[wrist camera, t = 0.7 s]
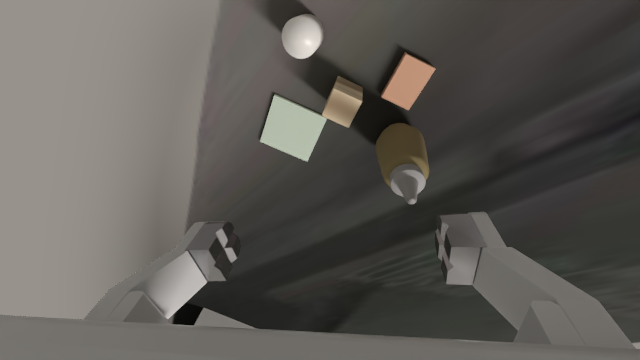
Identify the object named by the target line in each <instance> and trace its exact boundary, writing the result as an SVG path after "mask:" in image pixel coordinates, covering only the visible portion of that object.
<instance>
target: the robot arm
mask: <svg viewBox="0 0 640 360" xmlns="http://www.w3.org/2000/svg"><path fill="white" fill-rule="evenodd" d="M436 223H437V226H438V230H437V231H435V246H436V251H437V255H438V258H440V259H441V260H442V265H441V269H442V272H443V275H444V279H445V282H446V284H460V285H473V287H474V288H475V289H476V290H477V291H478V292H480V293H481V294H482V295H483V296H484V297H485V298H486V299H487V300H488V301H489V302H490V303H491V304H492V305H493V306H494V307H495V308H496V309H497V310H498V311H499V312H500V313H501V314H502V315H503V316H504V317H505V318H506V319H507V320H508V321H509V322H510V323H511V324H512V325H513V326H514V327H515V328H516V329H517V330H518V333H517V335H516V337H515V339H514V341H513V343H512V342H494V341H475V340H456V339H438V338H419V337H400V336H381V335H362V334H343V333H324V332H305V331H287V330H268V329H249V328H230V327H212V326H193V325H174V324H171V323H170V322H169V321H168V319H169V318H170V317H171V316H172V315H173V314H174V313H175V312H176V311H177V310H178V309H179V308H181V307H182V306H183V305H184V304H185V303H186V302H187V301H188V300H189V299H190V298H191V297H192V296H193V295H194V294H195V293H196V292H197V291H198V290H199V289H201V288H202V287H203V286H204V285H205V284H206V283H207V281H226V280H227V278H228V276H229V274H230V272H231V270H232V268H233V266H232V262H233V261H234V260H235V259H237V257H238V255H239V253H240V247H241V245H240V240H239V237H238V236H237V235H236V234H234V233H233V231H234V227H233V225H232V223H231V222H197V223H194V224H193V225H192V227H191V228H190V229H189V230H188V232H187V233H186V234H185V236H184V237H183V238H182V240H181V241H180V242H179V244H178V245H177V247H175V249H174V250H173V251H169V252H167V253H166V254H164V255H163V256H161V257H160V258H158V259H156V260H155V261H153V262H152V263H150V264H148V265H147V266H145V267H144V268H142V269H141V270H139V271H138V272H136V273H134V274H133V275H131V276H130V277H128V278H126V279H125V280H123V281H122V282H120V283H119V284H117V285H115V286H114V287H112V288H111V289H110V290H109V291H108V292H107V293H106V294H105V295H104V296H103V298H102V299H101V300H100V301H99V302H98V303H97V305H96V306H95V307H94V308H93V309H92V310H91V311H90V312H89V313H88V315H87V316H86V317H85V318H84V319H83V320H82V319H63V318H44V317H26V316H10V315H0V360H640V349H636V348H635V347H634V346H633V345H632V343H631V342H630V341H629V339H628V338H627V337H626V336H625V334H624V333H623V332H622V330H621V329H620V328H619V327H618V325H617V324H616V323H615V321H614V320H613V319H612V318H611V316H610V315H609V314H608V313H607V311H606V310H605V309H604V307H603V306H602V305H601V304H600V302H599V301H598V300H596V299H594V298H593V297H591V296H590V295H588V294H586V293H585V292H583V291H582V290H580V289H578V288H577V287H575V286H573V285H572V284H570V283H569V282H567V281H565V280H564V279H562V278H561V277H559V276H557V275H556V274H554V273H552V272H551V271H549V270H548V269H546V268H544V267H543V266H541V265H540V264H538V263H536V262H535V261H533V260H532V259H530V258H528V257H527V256H525V255H523V254H522V253H520V252H519V251H517V250H515V249H514V248H512V247H506V245H505V244H504V242H503V240H502V238H501V237H500V235H499V233H498V232H497V230H496V228H495V227H494V225H493V223H492V222H491V220H490V218H489V216H488V215H487V213H485V212H473V213H455V214H438V215H437V220H436Z"/></svg>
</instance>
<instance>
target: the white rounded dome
mask: <svg viewBox="0 0 640 360" xmlns="http://www.w3.org/2000/svg"><path fill="white" fill-rule="evenodd" d="M323 39H324V28H323V25H322V23H321V21H320V20H319V19H318V18H317V17H316V16H314V15H312V14H303V15H300V16H297V17H294V18H291V19H290V20H289V21H287V23H286V24H285V25H284V27H283V30H282V43H283V46H284V48H285V49H286V51H287V52H288V53H289V54H290V55H291V56H293V57H295V58H298V59H304V58H307V57H309V56H311V55H312V54H313V53H314V52H315V51H316V50H317V48H318V47H319V46H320V45H321V43H322V41H323Z"/></svg>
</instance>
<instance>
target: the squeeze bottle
mask: <svg viewBox="0 0 640 360" xmlns="http://www.w3.org/2000/svg"><path fill="white" fill-rule="evenodd" d="M375 150H376V154H377V157H378V161H379V164H380V168H381V171H382V175H383V178H384V181H385V183H386V184H387V185H389V186H390V187H391V188H392V190H393V191H394V192H395V193H396V194H398V195H400V196H404V198H405V199H406V201H407V203H408V204H414V203H416V201H417V194H418V193H419V192H421V191H422V190H423V188H424V187H425V183H426V179H427V178H428V174H429V166H428V160H427V153H426V147H425V142H424V138H423V135H422V134H421V133H420V132H419V131H418V129H416V128H414V127H412V126H409V125H407V124H405V123H394V124H391V125H389V126H388V127H387V128H385V129H384V131H383V132H382V133H381V135H380V136H379V138H378V140H377V141H376V149H375Z"/></svg>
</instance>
